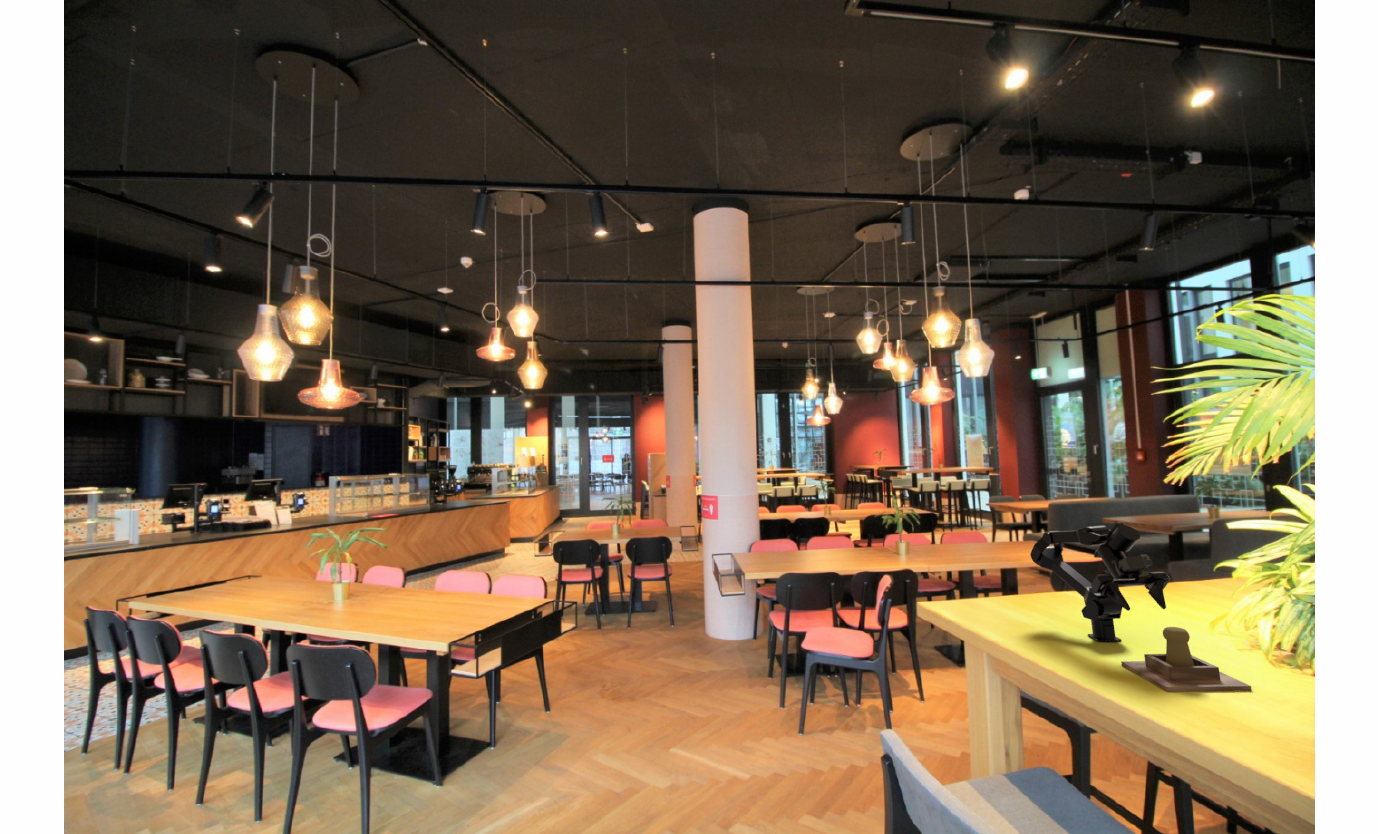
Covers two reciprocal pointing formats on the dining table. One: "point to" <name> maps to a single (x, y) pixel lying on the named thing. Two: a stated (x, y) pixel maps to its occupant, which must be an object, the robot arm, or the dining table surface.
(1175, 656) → the cork
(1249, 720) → the dining table surface
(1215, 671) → the holder board
